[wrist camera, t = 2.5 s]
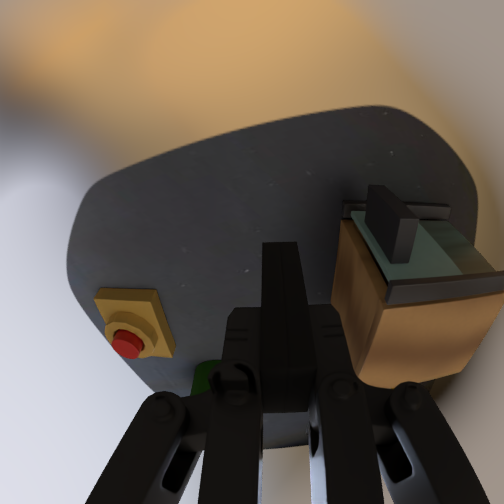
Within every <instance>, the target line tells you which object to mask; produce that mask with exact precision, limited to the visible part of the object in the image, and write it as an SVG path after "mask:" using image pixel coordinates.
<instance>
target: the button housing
mask: <svg viewBox="0 0 504 504" xmlns="http://www.w3.org/2000/svg"><path fill="white" fill-rule="evenodd" d="M94 301H95V303H96V305H97V307H98V309H99V311H100V313H101V315H102V317H103V319H104V321H105V323H106V327H105V335H106V337H107V339H108V341H109V342H110V343H111V344H112V341H113V339H114V337H115V335H116V332H117V331H118V330H120V329H123V330H128V331H130V332H132V333H135V334H136V335H137V336H138V337H139V338H141V339H142V341H143V347H142V349H141V352H140V354H139V356H138V357H137V358H145V357H148V356H159V357H169V358H172V357H173V354H174V351H175V347H176V344H175V342H174V339H173V336H172V334H171V331H170V328H169V326H168V323H167V320H166V317H165V314H164V311H163V308H162V306H161V303H160V300H159V296H158V293H157V290H153V289H120V288H100V290H99V291H98V293H97V294H96V296H95V297H94Z"/></svg>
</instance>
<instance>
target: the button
mask: <svg viewBox="0 0 504 504" xmlns="http://www.w3.org/2000/svg"><path fill="white" fill-rule="evenodd" d="M112 347H113V349H114V350H115V351H116V352H117V353H118V354H120V355H121V356H123V357H126V358H129V359H135V358H137V357H138V356H139V354H140V352H141V349H142V347H143V341H142V339H141V338H139V337H138V336H137V335H136V334H135V333H132V332H130V331H128V330H123V329H120V330H118V331H117V332H116V335H115V337H114V339H113V341H112Z"/></svg>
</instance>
